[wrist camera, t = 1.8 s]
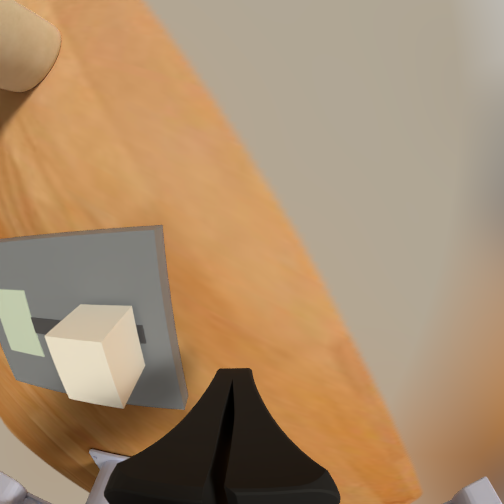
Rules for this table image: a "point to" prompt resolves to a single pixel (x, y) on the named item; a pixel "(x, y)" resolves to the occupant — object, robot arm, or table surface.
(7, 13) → the candle
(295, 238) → the table surface
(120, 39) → the table surface
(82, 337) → the knob
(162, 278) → the slider board
